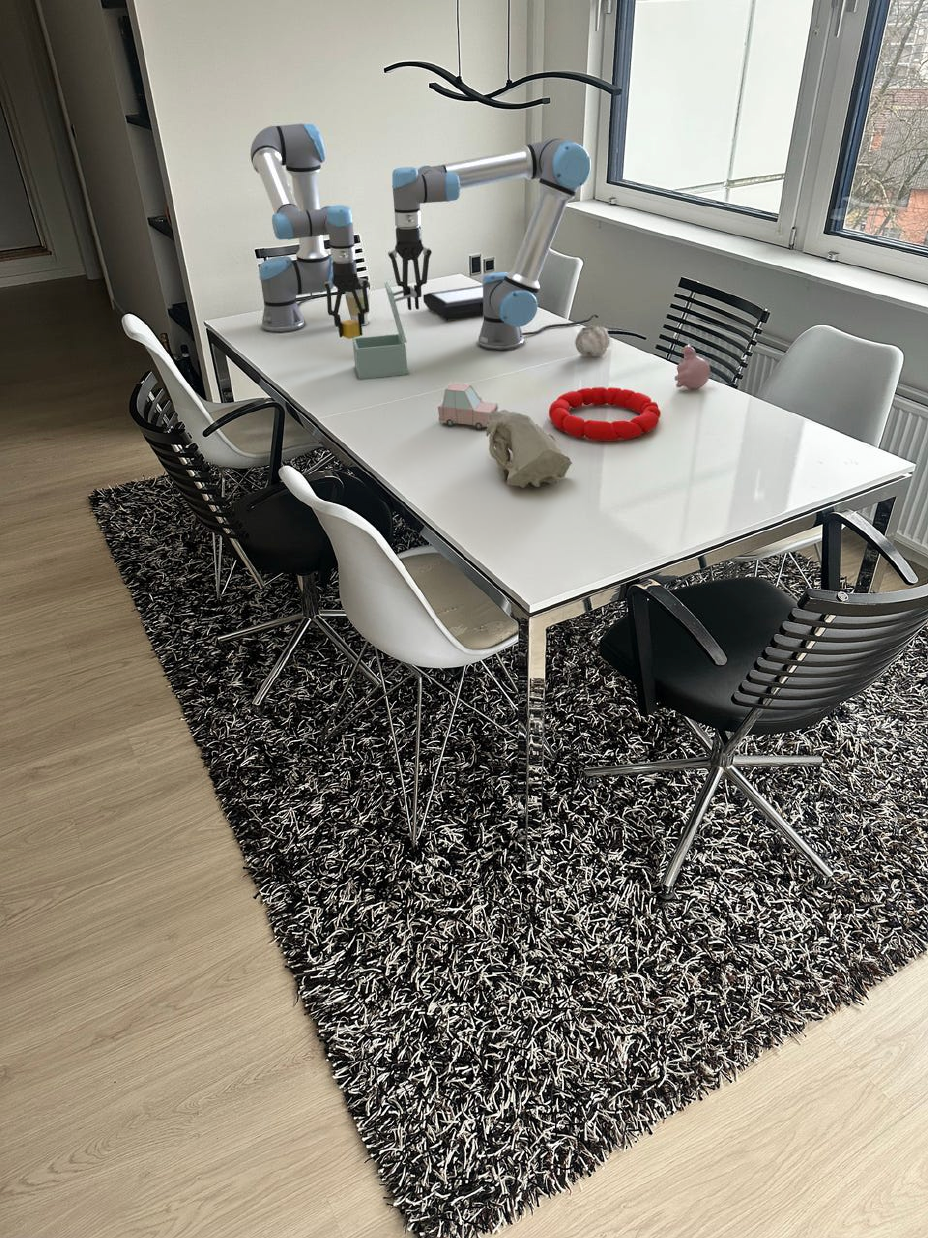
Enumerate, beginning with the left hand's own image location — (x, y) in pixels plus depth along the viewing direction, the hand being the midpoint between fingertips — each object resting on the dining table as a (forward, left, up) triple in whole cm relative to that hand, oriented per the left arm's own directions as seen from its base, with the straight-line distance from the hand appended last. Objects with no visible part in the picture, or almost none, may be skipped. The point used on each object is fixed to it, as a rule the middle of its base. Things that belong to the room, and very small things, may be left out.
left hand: (350, 334), depth 290 cm
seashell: (+19, +77, -8) cm, 79 cm away
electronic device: (-44, +49, -8) cm, 66 cm away
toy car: (+64, +27, -8) cm, 70 cm away
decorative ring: (+73, +63, -8) cm, 97 cm away
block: (0, 0, 0) cm, 0 cm away
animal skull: (+97, +34, -8) cm, 103 cm away
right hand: (+14, +19, +11) cm, 27 cm away
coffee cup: (-39, +5, -8) cm, 40 cm away
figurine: (+54, +95, -8) cm, 110 cm away
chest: (+15, +8, -8) cm, 18 cm away
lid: (+15, +13, +10) cm, 22 cm away
